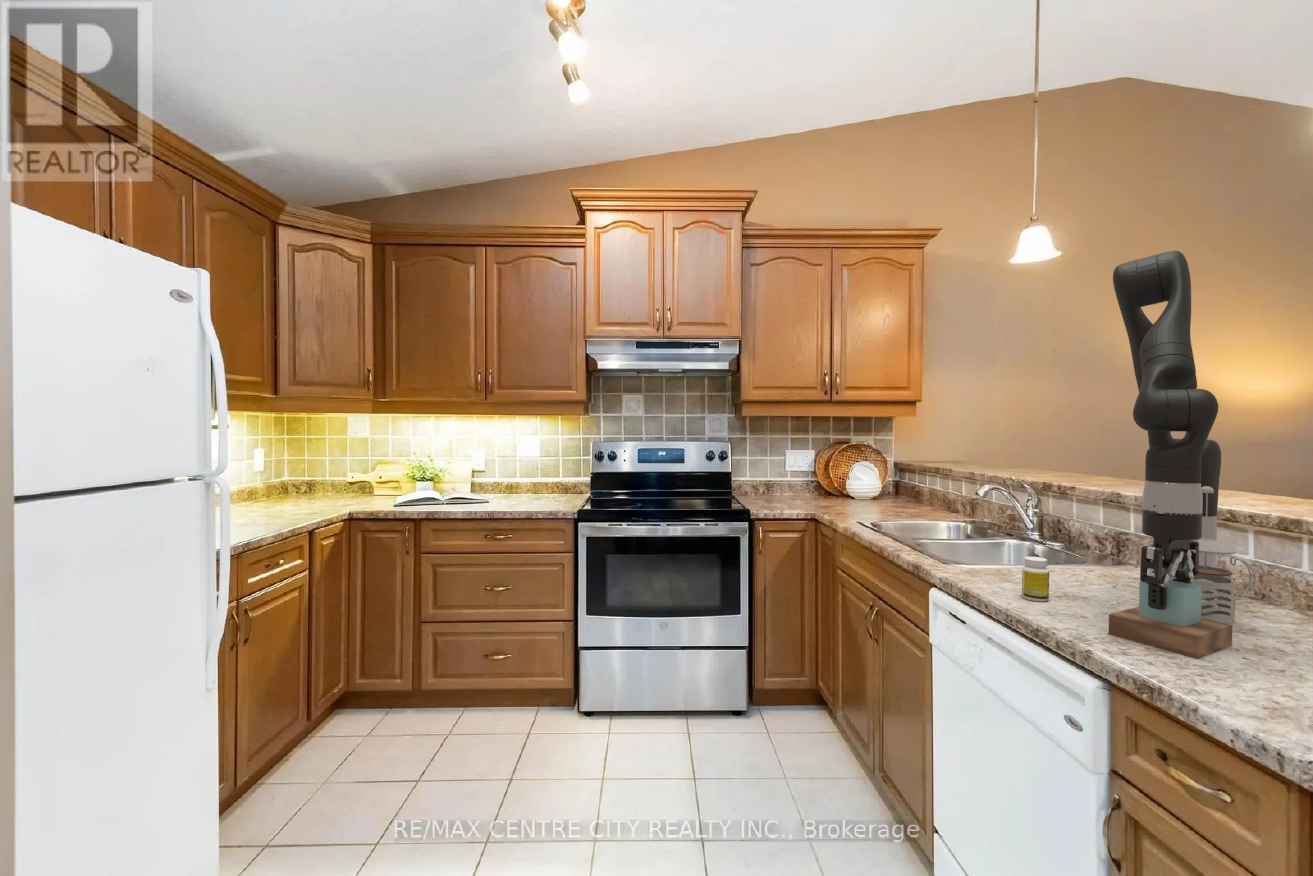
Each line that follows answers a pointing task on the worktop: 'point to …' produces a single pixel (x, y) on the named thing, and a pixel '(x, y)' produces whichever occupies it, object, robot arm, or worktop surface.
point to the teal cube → (1174, 604)
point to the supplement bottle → (1035, 579)
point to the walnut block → (1172, 634)
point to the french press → (1218, 580)
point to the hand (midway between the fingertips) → (1169, 605)
